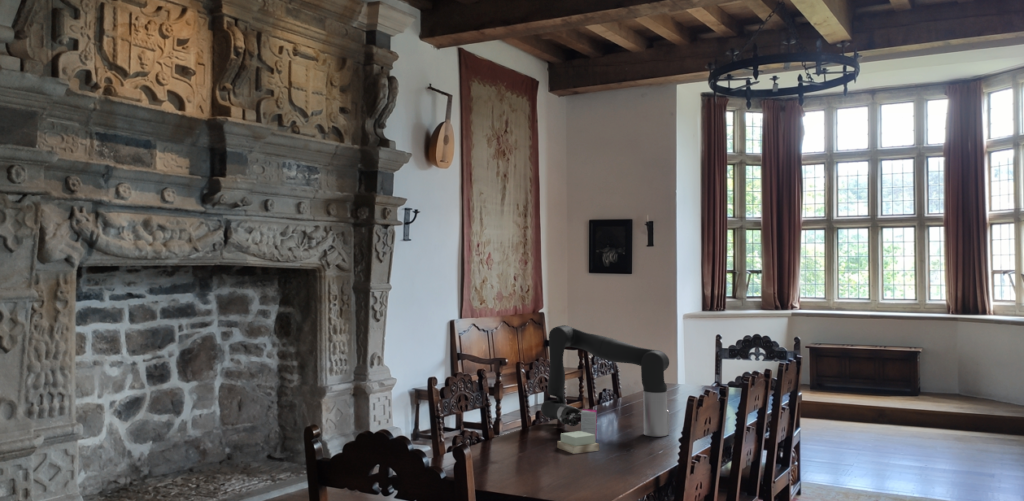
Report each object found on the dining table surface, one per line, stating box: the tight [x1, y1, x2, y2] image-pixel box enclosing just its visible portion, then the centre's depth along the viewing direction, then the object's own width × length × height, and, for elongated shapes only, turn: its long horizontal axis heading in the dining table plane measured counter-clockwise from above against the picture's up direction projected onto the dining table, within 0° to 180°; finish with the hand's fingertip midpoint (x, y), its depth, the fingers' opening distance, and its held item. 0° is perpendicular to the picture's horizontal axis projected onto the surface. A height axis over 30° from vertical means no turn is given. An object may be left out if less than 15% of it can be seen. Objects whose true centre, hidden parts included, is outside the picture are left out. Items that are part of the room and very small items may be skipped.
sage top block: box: [560, 430, 596, 446], centre depth 281 cm, size 9×9×3 cm
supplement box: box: [580, 408, 598, 442], centre depth 297 cm, size 6×6×12 cm
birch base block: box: [556, 440, 600, 455], centre depth 281 cm, size 11×11×3 cm
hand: (586, 422), depth 299 cm, fingers open, 8 cm apart
